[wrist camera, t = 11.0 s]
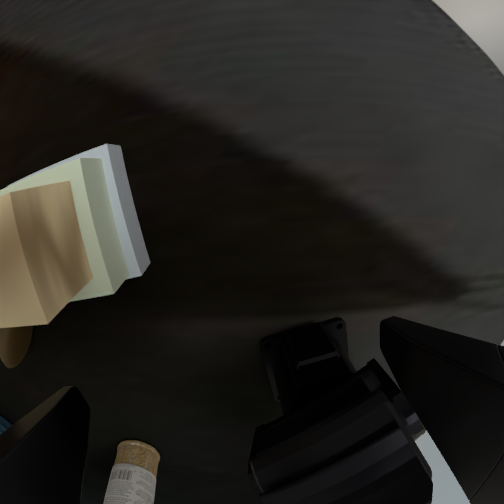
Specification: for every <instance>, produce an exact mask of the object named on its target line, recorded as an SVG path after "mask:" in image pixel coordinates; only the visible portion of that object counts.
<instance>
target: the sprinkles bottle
mask: <svg viewBox="0 0 504 504" xmlns="http://www.w3.org/2000/svg"><path fill="white" fill-rule="evenodd" d="M117 451H118V452H117V456H116V460H115V464H114V466H113V468H112V471H111V475H110V479H109V483H108V487H107V491H106V495H105V499H104V503H103V504H153V503H154V496H155V487H156V475H157V468H158V462H159V460H160V455H159V453H158V451H157V450H156V449H155V448H153V447H152V446H151V445H149V444H146V443H144V442H141V441H138V440H126V441H122V442H121V443H120V444H119V445H118V448H117Z"/></svg>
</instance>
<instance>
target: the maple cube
mask: <svg viewBox="0 0 504 504" xmlns="http://www.w3.org/2000/svg"><path fill="white" fill-rule="evenodd" d="M92 278H93V275H92V272H91V269H90V265H89V262H88V258H87V254H86V251H85V247H84V243H83V239H82V235H81V231H80V227H79V223H78V218H77V214H76V209H75V205H74V200H73V195H72V189H71V184H70V181H65V182H59V183H53V184H48V185H43V186H37V187H32V188H28V189H23V190H18V191H14V192H9V193H7V194H4V195H2V196H0V328H8V327H21V326H32V325H43V324H49V323H50V321H51V320H52V319H53V318H54V317H55V316H56V315H57V314H58V313H59V312H60V311H61V310H62V309H63V308H64V307H65V305H66V304H67V303H68V302H69V301H70V300H71V299H72V298H73V297H74V296H75V295H76V294H77V293H78V292H79V291H80V290H81V289H82V288H83V287H84V286H85V285H86V284H87V283H88V282H89V281H90V280H91V279H92Z"/></svg>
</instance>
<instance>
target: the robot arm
mask: <svg viewBox="0 0 504 504" xmlns="http://www.w3.org/2000/svg"><path fill="white" fill-rule="evenodd" d="M339 323H341V324H340V326H337V324H339ZM336 326H337V327H336ZM266 343H270V344H269V345H268V346H265V344H266ZM260 346H261V350H262V354H263V357H264V361H265V365H266V369H267V373H268V377H269V380H270V384H271V388H272V392H273V396H274V399H275V401H277V402H280V403H281V407H282V411H283V416H281V417H279V418H278V419H276V420H274V421H272V422H270V423H268V424H266V425H264V424H262V425H260V426H258V427H256V430H255V435H254V439H253V444H252V449H251V454H250V459H249V464H248V476H249V478H250V480H251V483H252V485H253V488H254V490H255V491H256V493H257V495H258V496H259V497H260V499H261V500H262V502H263V503H264V504H431V502H432V492H433V483H432V480H431V478H432V471H431V468H430V466H429V465H428V463H427V461H426V460H425V458H424V456H423V455H422V453H421V451H420V450H419V448H418V447H417V445H416V443H415V441H414V440H415V439H417V438H418V437H420V436H421V435H423V434H424V433H425V430H424V428H423V426H422V424H423V425H424V427H425V429H426V430H427V431H428V433H429V435H430V436H431V438H432V440H433V441H434V443H435V444H436V446H437V448H438V449H439V451H440V452H441V454H442V456H443V457H444V459H445V461H446V462H447V464H448V465H449V467H450V469H451V471H452V472H453V474H454V476H455V477H456V479H457V481H458V482H459V484H460V486H461V487H462V489H463V491H464V492H465V494H466V496H467V498H468V500H470V501H469V502H470V503H471V504H504V346H501V345H498V346H497V345H496V344H493V343H489V342H486V341H482V340H478V339H474V338H471V337H467V336H463V335H460V334H456V333H452V332H449V331H445V330H441V329H438V328H434V327H431V326H427V325H424V324H420V323H416V322H413V321H409V320H406V319H402V318H399V317H395V316H392V317H389V318H387V319H384V320H382V321H381V323H380V348H381V351H382V353H383V355H384V357H385V359H386V361H387V363H388V365H389V367H390V369H391V371H392V373H393V375H394V377H395V379H396V381H397V383H398V385H399V387H400V389H401V390H400V389H399V388H398V386H397V385H396V384H395V382H394V381H393V380H392V379H391V378H390V377H389V375H388V374H387V373H386V372H385V371H384V369H383V368H382V367H381V366H380V365H379V364H378V362H377V361H376V360H375V359H374V358H373V359H372V360H370V361H369V362H367V365H366V366H364V367H363V368H361V369H360V370H358V371H356V369H355V368H354V366H353V364H352V363H351V361H350V360H349V358H348V346H347V333H346V324H345V321H344V320H343V319H342V318H336V319H332V320H329V321H325V322H322V323H319V322H318V323H314V324H311V325H307V326H304V327H300V328H296V329H292V330H289V331H287V332H285V333H281V334H277V335H273V336H269V337H265V338H263V339H262V340H261V342H260ZM401 391H402V392H401ZM403 394H404V395H403ZM278 396H279V397H278ZM414 411H415V412H414ZM416 414H417V415H416ZM417 416H418V417H417ZM419 419H420V420H419ZM89 420H90V408H89V405H88V404H87V402H86V401H85V399H84V397H83V396H82V394H81V393H80V391H79V390H78V388H76V387H75V386H65V387H63V388H61V389H60V390H59V391H57V392H56V393H55V394H53V395H52V396H51V397H49V398H48V399H47V400H45V401H44V402H43V403H41V404H40V405H39V406H37V407H36V408H35V409H33V410H32V411H31V412H29V413H28V414H27V415H25V416H24V417H23V418H21V419H20V420H19V421H18V422H16V423H15V424H14V425H12V426H11V427H10V428H8V429H7V430H6V431H4V432H3V433H2V434H0V504H80V500H81V492H82V484H83V476H84V469H85V463H86V456H87V446H88V432H89ZM420 421H421V422H422V424H421V422H420Z"/></svg>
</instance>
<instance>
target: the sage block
mask: <svg viewBox="0 0 504 504" xmlns="http://www.w3.org/2000/svg"><path fill="white" fill-rule="evenodd" d="M65 181H70V184H71V189H72V195H73V200H74V205H75V209H76V214H77V218H78V223H79V227H80V231H81V235H82V239H83V243H84V247H85V251H86V254H87V258H88V262H89V265H90V269H91V272H92V275H93V278H92V279H91V280H90V281H89V282H88V283H87V284H86V285H85V286H84V287H83V288H82V289H81V290H80V291H79V292H78V293H77V294H76V295H75V296H74V297H73V298H72V299H71V300H70V301H69V302H71V301H77V300H83V299H89V298H94V297H100V296H106V295H111V294H114V293H115V292H116V291H117V290H118V288H119V287H120V286H121V284H122V283H123V282H124V281H125V279H126V278H127V277H128V276H129V271H128V268H127V264H126V261H125V257H124V254H123V250H122V246H121V242H120V239H119V235H118V231H117V227H116V223H115V219H114V214H113V210H112V206H111V201H110V197H109V192H108V188H107V183H106V178H105V173H104V168H103V162H102V159H101V158H78V159H75V160H73V161H70V162H67V163H64V164H62V165H59V166H56V167H54V168H51V169H49V170H46V171H43V172H41V173H39V174H36V175H34V176H31V177H29V178H26V179H24V180H22V181H20V182H17V183H15V184H13V185H11V186H8V187H6V188H4V189H2V190H0V196H2V195H4V194H7V193H9V192H14V191H18V190H23V189H28V188H32V187H37V186H43V185H48V184H53V183H59V182H65Z"/></svg>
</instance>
